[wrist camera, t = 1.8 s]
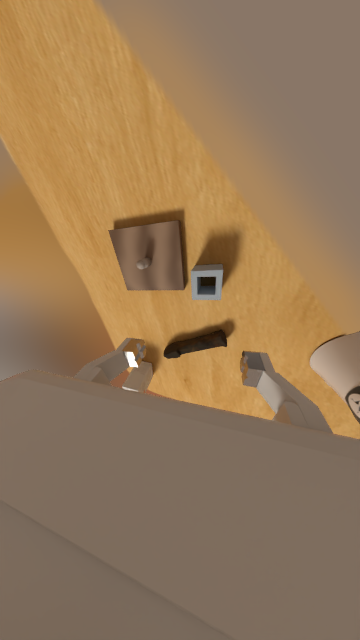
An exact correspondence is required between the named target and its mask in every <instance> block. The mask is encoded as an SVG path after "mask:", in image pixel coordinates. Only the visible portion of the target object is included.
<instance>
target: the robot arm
mask: <svg viewBox="0 0 360 640" xmlns="http://www.w3.org/2000/svg"><path fill="white" fill-rule="evenodd" d="M144 343H145V342H144V340H141V339H134V338H126V339H125V341H124V342H123V343H122V344H121V345H120V346H119V347H118V348H117V350H114V351H112V352H110V353H108V354H106V355H104V356H102V357H100V358H98V359H96V360H94V361H92V362H90V363H88V364H86V365H85V366H84V367H83V368H82V369H81V370H80V371H79V372H78V373H77V374H76V375H75V376H74V377H73V378H72V377H67V376H63V375H58V374H54V373H48V372H44V371H40V370H34V369H33V370H28V371H25V372H23V373H19V374H17V375H14V376H12V377H10V378H7V379H5V380H2V381H0V640H360V439H356V438H351V437H346V436H342V435H337V434H333V432H332V430H331V429H330V427H329V425H328V424H327V422H326V420H325V418H324V417H323V415H322V413H321V412H320V410H319V408H318V406H316V405H315V404H314V403H313V402H312V401H310V400H309V399H308V398H307V397H306V396H305V395H303V394H302V393H301V392H300V391H299V390H298V389H296V388H295V387H294V386H293V385H292V384H290V383H289V382H288V381H287V380H286V379H285V378H283V377H282V376H281V375H280V374H279V373H275V370H274V368H273V366H272V363H271V361H270V359H269V356H268V354H267V353H261V352H251V351H243V352H242V358H241V360H240V370H241V372H242V382H243V385H246V386H251V387H256V388H257V390H258V391H259V392H260V394H261V395H262V396H263V398H264V399H265V400H266V401H267V403H268V404H269V405H270V407H271V408H272V409H273V411H274V412H275V413H276V415H275V416H274V418H273V419H272V420H267V419H263V418H258V417H253V416H249V415H244V414H239V413H235V412H230V411H225V410H221V409H216V408H212V407H207V406H202V405H198V404H193V403H188V402H184V401H179V400H174V399H170V398H165V397H160V396H156V395H151V394H146V393H142V392H137V391H132V390H128V389H123V388H118V387H114V386H112V385H111V383H110V381H111V380H113V379H114V378H115V377H117V376H118V375H119V374H121V373H122V372H123V371H124V370H126V369H127V368H128V367H129V366H131V367H139V365H140V363H141V362H142V360H141V359H142V358H144V357H145V355H146V346H145V345H144ZM310 366H311V368H312V369H313V370H314V371H315V372H316V373H317V374H318V375H320V376H321V377H322V378H323V379H324V381H325V382H326V383H327V384H328V385H329V386H331V387H332V388H333V390H334V391H335V392H336V393H337V394H338V395H339V396H340V397H341V398H342V399H343V401H344V402H345V403H346V404H347V405H348V406H349V408H350V410H351V411H352V413H353V415H354V417H355V418H356V420H357V421H358V422H359V424H360V331H359V332H356V333H353V334H349V335H345V336H342V337H339V338H336V339H334V340H331V341H329V342H327V343H325V344H324V345H322V346H321V347H319V348H318V349H317V350H316V351H315V352H314V353H313V354H312V356H311V358H310Z"/></svg>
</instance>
